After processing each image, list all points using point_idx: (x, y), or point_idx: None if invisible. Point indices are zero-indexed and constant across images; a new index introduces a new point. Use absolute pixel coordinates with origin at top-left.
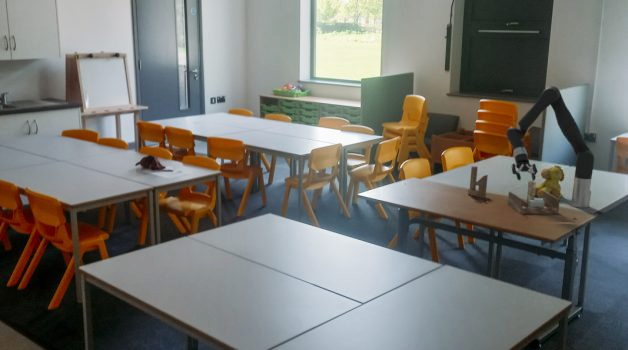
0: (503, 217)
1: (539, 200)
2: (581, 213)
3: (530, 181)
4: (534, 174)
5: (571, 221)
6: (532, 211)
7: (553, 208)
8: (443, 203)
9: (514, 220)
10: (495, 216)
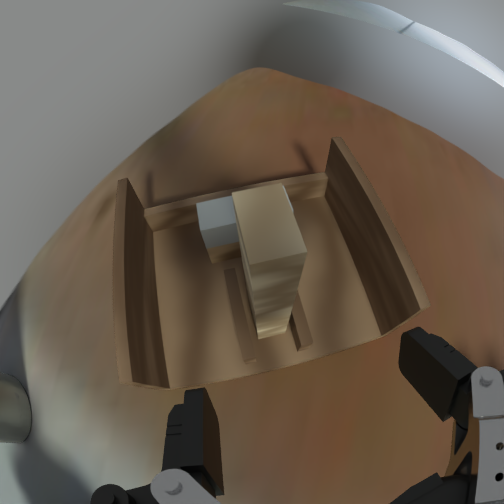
0: (385, 165)
1: (223, 214)
2: (42, 288)
3: (287, 225)
4: (170, 461)
5: (133, 173)
6: None
7: (162, 205)
8: None
9: (346, 142)
10: (412, 172)
